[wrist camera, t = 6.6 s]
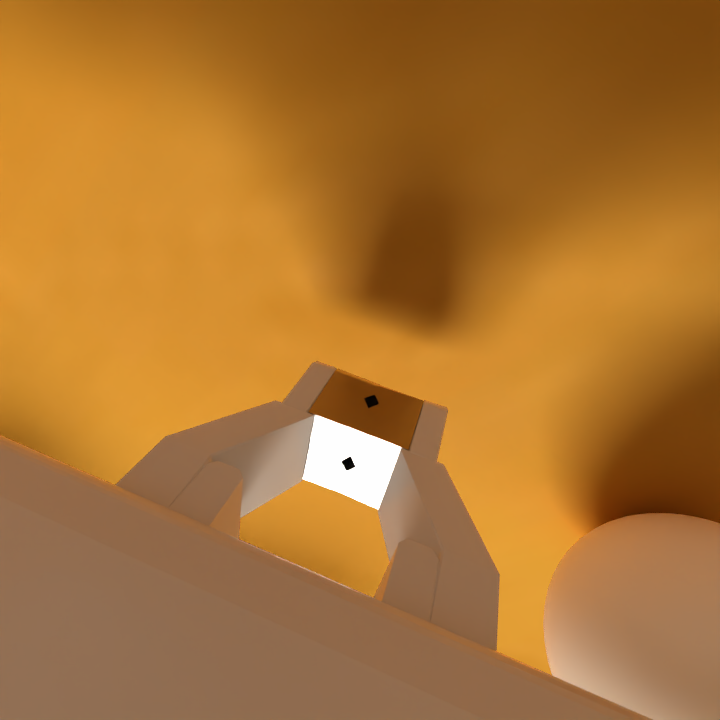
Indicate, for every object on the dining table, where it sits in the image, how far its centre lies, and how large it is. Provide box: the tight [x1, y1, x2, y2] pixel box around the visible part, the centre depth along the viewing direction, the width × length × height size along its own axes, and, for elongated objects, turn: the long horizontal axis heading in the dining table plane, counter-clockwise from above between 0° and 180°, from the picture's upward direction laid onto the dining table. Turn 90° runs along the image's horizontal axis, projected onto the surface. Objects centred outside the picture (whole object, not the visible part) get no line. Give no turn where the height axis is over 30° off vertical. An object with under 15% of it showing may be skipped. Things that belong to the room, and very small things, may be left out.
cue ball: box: [544, 513, 720, 720], centre depth 9 cm, size 6×6×6 cm
